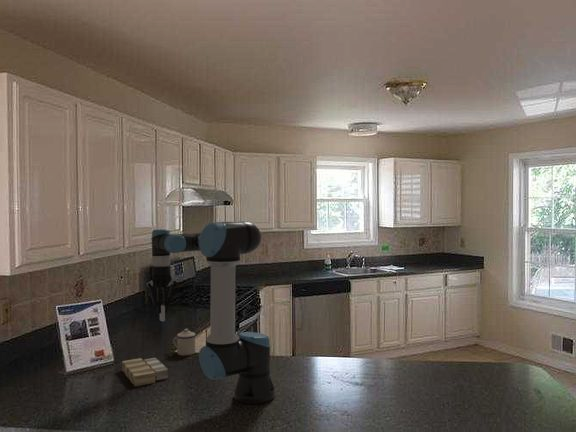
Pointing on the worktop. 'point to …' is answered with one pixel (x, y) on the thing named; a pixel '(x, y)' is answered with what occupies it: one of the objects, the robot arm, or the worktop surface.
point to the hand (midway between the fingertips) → (162, 320)
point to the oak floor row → (138, 372)
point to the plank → (157, 368)
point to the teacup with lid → (185, 343)
